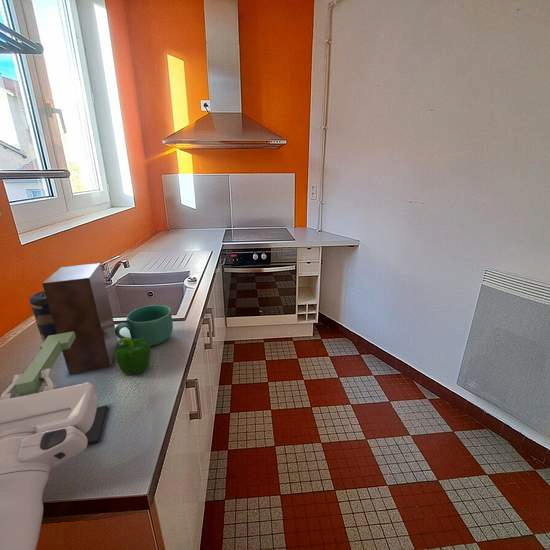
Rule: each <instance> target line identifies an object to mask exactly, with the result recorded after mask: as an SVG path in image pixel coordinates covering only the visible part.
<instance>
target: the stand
mask: <svg viewBox="0 0 550 550" xmlns="http://www.w3.org/2000/svg"><path fill="white" fill-rule="evenodd" d="M41 285H42V288H43V291H44V292H45V295H46V298H47V302H48V305H49V308H50V312H51V315H52V318H53V322H54V325H55V328H56V332H57V334H62V333H68V332H74V333H75V336H76V338H75V340H74V342H73V343H72V345H71V347H70V349H65V350H62V352H61V353H62V355H63V358H64V361H65V365H66V367H67V372H68V375H72V374H73V375H74V374H77V373H83V372H89V371H94V370H98V369H105V368H109V367H111V366H112V363H113V359H114V358H115V348H116V346H118V343H119V338H118V337H117V336H116V334H115V328H116V326H115V321H114V317H113V313H112V312H113V311H112V308H111V307H112V306H111V303H110V300H109V294H108V290H107V286H106V281H105V277H104V272H103V269H102V265H101V263H100V262H97V263H89V264H80V265H69V266H61V267H59V268H58V269H57V270H56V271H55V272H54V273H52V274H51V275H50V276H49V277H48V278H47V279H45V280H44V281H43V282H42V283H41Z"/></svg>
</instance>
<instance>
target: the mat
mask: <svg viewBox="0 0 550 550" xmlns="http://www.w3.org/2000/svg"><path fill="white" fill-rule="evenodd" d="M107 410H108V405H107V404H106V405H101V406H97V409H96V414H95V418H94V422H93V424H92V426H91V428H90V429H89V431H88V432H86V433H85V435H86V437H87V440H88V443H87V446H89V445H92V444H96V443H99V441H100V438H101V434H102V429H103V426H104V421H105V418H106V414H107Z"/></svg>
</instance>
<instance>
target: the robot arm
mask: <svg viewBox="0 0 550 550" xmlns="http://www.w3.org/2000/svg"><path fill="white" fill-rule="evenodd" d="M23 374H24V372H23V373H18V374H14V376H13V379H12V383H10V385H9V386H8V387H6V389H5V390H4V391H3V392H2V393H1V394H0V550H37V546H38V542H39V539H40V533H41V527H42V522H43V516H44V502H43V495H44V491H45V487H46V485H47V483H48V480H49V478H50V470H52V469H53V468H56V467H58V466H59V465H60V464H62V463H64V462H66V461H67V460H69V459H71V458H72V457H74V456H76V455H78V454H80V453H81V452H83V451H85V449H87V447H88V445H87V443H88V440H87V437H86V435H85V433H86V432H88V431H89V429H90V428H91V426H92V424H93V422H94V418H95V414H96V409H97V407H98V402H99V391H98V389H97V388H96V387H95V386H94V385H93V384H92V383H91V382H83V383H79V384H74V385H68V386H64V387H59V388H58V386H57V384H56V383H55V381H54V380H53V379H54V374H55V372H54V370H53V369H52V368H49V369H44V370H41V371H40V375H39V379H40V380H42V382H43V383H42V384H45V383H46V384H47V385H44V386H43V390H42V391H39V392H37V393H34V394H29V395H24V396H19V395H18V396H16V395H17V394H19V393H18V391H17V388H16V383H17V382H18V381H19V379H20V378H21V376H22V375H23Z"/></svg>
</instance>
